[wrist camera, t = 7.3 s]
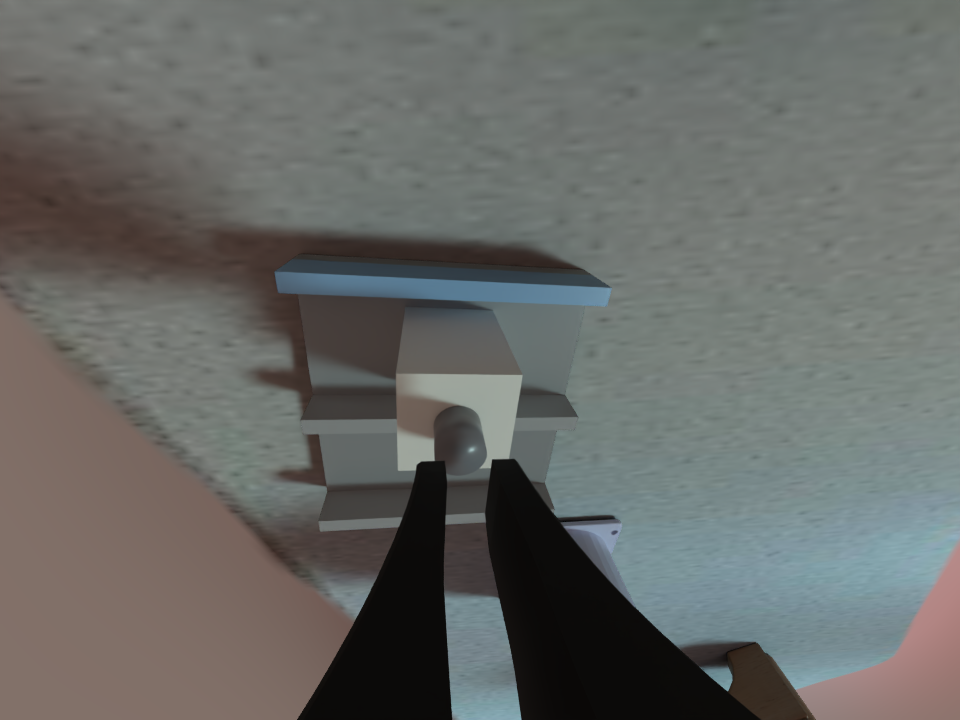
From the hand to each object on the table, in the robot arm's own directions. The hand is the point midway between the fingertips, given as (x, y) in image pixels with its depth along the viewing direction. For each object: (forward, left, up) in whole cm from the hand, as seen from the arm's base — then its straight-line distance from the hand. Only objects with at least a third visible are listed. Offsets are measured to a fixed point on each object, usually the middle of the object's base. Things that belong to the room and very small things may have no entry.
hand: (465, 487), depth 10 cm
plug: (0, 0, -9) cm, 9 cm away
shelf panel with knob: (-3, 0, -10) cm, 10 cm away
